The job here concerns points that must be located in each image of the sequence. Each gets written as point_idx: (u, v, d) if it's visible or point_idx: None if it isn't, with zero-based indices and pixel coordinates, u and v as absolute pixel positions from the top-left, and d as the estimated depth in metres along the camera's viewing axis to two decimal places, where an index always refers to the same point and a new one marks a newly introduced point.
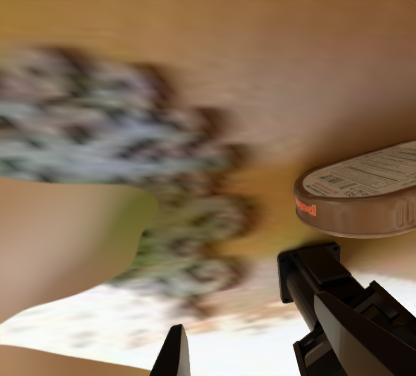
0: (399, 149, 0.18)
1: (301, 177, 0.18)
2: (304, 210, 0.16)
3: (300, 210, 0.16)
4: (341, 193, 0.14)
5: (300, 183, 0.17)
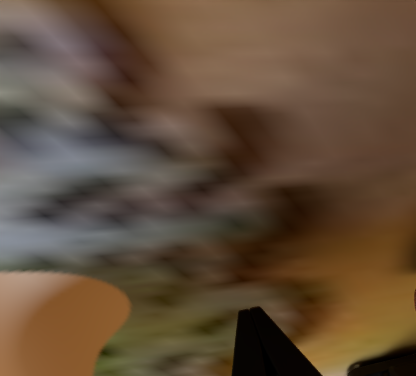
0: None
1: None
2: None
3: None
4: None
5: None
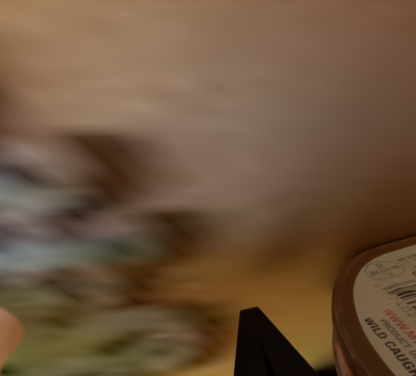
0: None
1: (346, 279, 0.08)
2: None
3: None
4: None
5: (348, 308, 0.07)
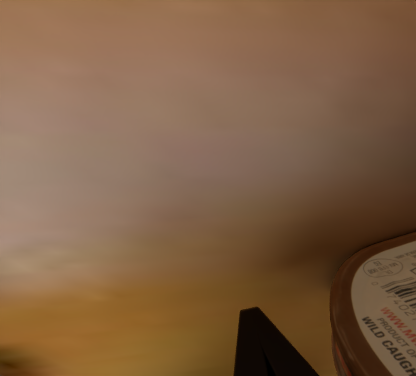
0: None
1: (343, 278, 0.08)
2: None
3: None
4: None
5: (346, 308, 0.07)
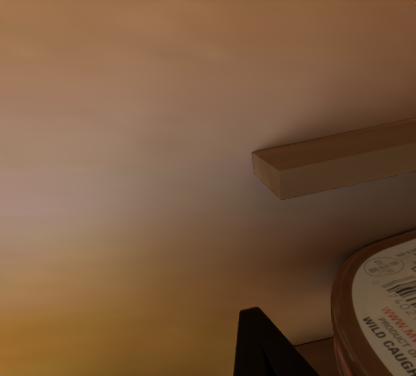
0: None
1: (344, 278, 0.08)
2: None
3: None
4: None
5: (347, 308, 0.07)
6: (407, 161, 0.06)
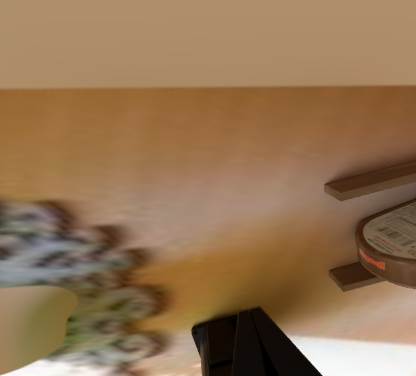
0: None
1: (360, 228, 0.22)
2: (371, 263, 0.19)
3: (366, 261, 0.20)
4: (405, 251, 0.18)
5: (361, 237, 0.21)
6: (377, 188, 0.19)
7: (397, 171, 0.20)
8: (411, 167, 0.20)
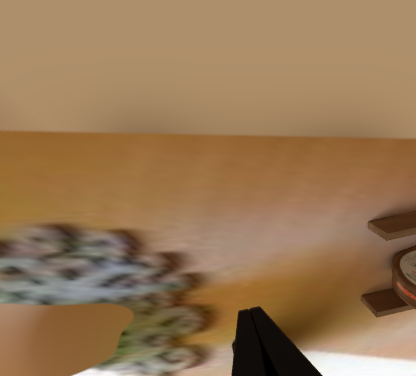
0: None
1: (396, 262, 0.24)
2: (410, 296, 0.22)
3: (404, 294, 0.22)
4: None
5: (399, 271, 0.23)
6: None
7: None
8: None
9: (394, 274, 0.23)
